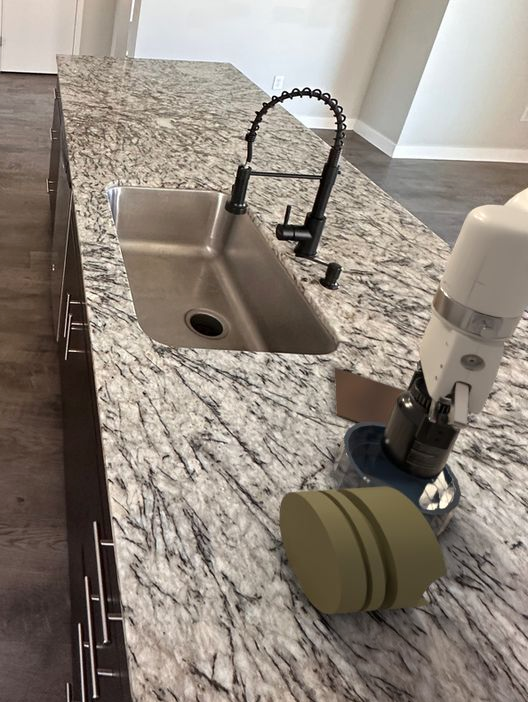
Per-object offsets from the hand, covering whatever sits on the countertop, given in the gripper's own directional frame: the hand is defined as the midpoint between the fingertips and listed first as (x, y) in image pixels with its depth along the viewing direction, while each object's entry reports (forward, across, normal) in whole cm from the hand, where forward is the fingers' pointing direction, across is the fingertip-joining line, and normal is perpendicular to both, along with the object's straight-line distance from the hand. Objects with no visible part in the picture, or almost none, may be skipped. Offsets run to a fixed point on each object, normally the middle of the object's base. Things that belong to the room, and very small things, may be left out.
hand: (425, 419), depth 69 cm
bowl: (+14, 0, +1) cm, 14 cm away
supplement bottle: (+7, 0, 0) cm, 7 cm away
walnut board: (+14, +16, +1) cm, 21 cm away
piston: (+14, -15, +7) cm, 22 cm away
